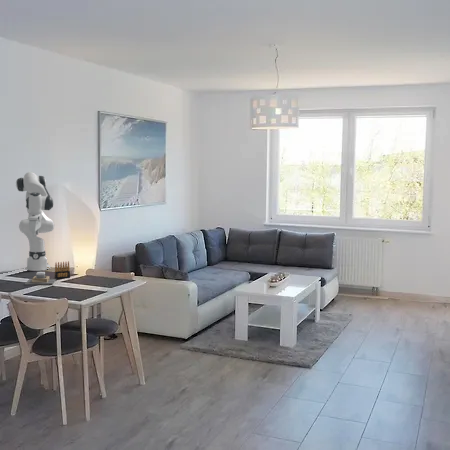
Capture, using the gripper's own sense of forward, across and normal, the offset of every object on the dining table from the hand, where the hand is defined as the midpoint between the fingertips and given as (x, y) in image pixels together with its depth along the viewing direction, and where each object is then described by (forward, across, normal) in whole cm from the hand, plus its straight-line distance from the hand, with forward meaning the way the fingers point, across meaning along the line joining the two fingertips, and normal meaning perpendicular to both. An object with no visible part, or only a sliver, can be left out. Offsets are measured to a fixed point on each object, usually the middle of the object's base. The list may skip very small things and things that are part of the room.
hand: (35, 235), depth 411 cm
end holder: (+31, +11, +6) cm, 33 cm away
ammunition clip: (+31, -4, +18) cm, 36 cm away
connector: (+30, +11, +6) cm, 32 cm away
